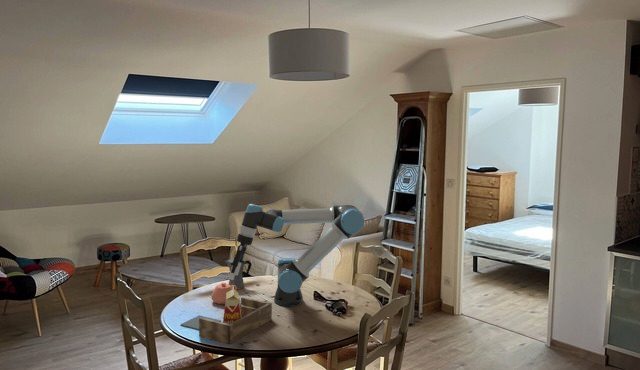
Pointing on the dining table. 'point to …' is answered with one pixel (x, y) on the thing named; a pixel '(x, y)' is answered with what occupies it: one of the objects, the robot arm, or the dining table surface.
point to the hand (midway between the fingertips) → (232, 277)
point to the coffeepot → (238, 279)
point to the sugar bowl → (221, 293)
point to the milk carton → (232, 307)
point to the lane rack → (237, 322)
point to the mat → (195, 322)
